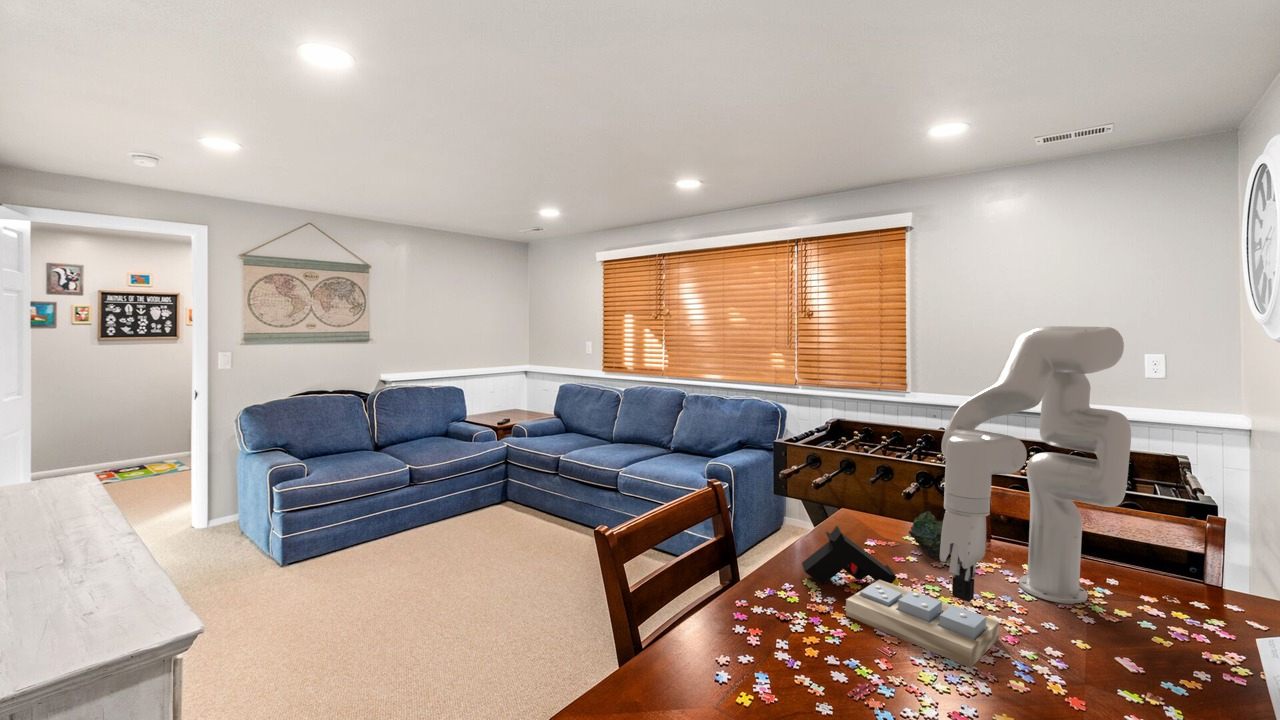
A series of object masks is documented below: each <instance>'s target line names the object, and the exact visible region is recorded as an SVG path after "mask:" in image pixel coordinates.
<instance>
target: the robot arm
mask: <svg viewBox="0 0 1280 720" xmlns="http://www.w3.org/2000/svg"><path fill="white" fill-rule="evenodd" d="M1124 348H1125V341H1124V338H1123V336H1122V333H1120V332H1119V330H1117V329H1116V328H1114V327H1111V326H1068V325H1066V326H1063V325H1060V326H1056V325H1055V326H1054V325H1052V326H1050V325H1049V326H1041V327H1036V328H1034V329H1031V330H1030V331H1027V332H1024V333H1022V334H1020V335H1019V336H1017V338H1016V339H1015V341H1014V342H1013V345H1012V346H1011V348H1010V351H1009V352H1008V355H1007V356H1006V359H1005V360H1004V361H1005V362H1004V363H1003V366H1002V367H1001V369H1000V370H999V374H998V375H997V378H996V379H995V382H994V384H993V385H991V386H990V387H987V388H985V389H984V390H981V391H980V392H978V393H976V394H975V395H973V396H972V397H970V398H968V399H967V400H966V401H965V402H964V403H962V404H961V405H960V406H959V407H958V408H957V409H956V410H955V411H954V413H953V415H952V416H951V418H950V420H949V423H948V425H947V427H946V429H945V431H944V433H943V435H942V439H941V454H942V456H943V457H944V458H945V469H944V471H945V472H944V491H943V492H944V493H943V495H944V496H943V499H944V500H943V508H944V510H945V513H944V516H943V520H942V521H943V526H942V534H941V545H940V560H939V561H940V562H941V563H946V562H948V561H949V560H950V563H949V569H948V573H949V574H951V575H952V576H951V577H952V585H951V586H952V587H951V588H952V590H951V591H952V592H951V594H952V595H951V596H952V597H953V598H956V599H959V600H962V601H965V602H968V603H969V602H971V601H972V600H974V599H975V597H974V594H975V575H976V570H977V569H976V568H977V563H978V562H980V561H981V560H982V559H984V557H985V555H986V549H987V547H986V546H987V516H990V515H991V497H992V496H991V495H992V494H991V493H992V475H1005V476H1006V475H1012V474H1015V473H1016V472H1018V471H1020V470H1021V469H1022V468H1023V467H1024V465H1025V463H1026V461H1027V456H1028V453H1027V448H1026V446H1025V444H1024V443H1023V442H1022V441H1021V440H1020V439H1019V438H1017V437H1015V436H1012V435H1008V434H1004V433H999V432H998V433H997V432H991V431H986V430H980V429H976V428H978V427H979V426H980V425H981V424H983V423H984V422H987V421H990V420H992V419H995V418H997V417H1001V416H1007V415H1010V414H1015V413H1020V412H1022V411H1023V412H1024V411H1027V410H1030V409H1033V408H1035V407H1037V406H1038V405H1040V403H1041V406H1040V407H1041V408H1040V416H1039V417H1040V419H1039V436H1040V438H1041V440H1042V441H1043V443H1045V444H1046V445H1050V446H1053V447H1056V448H1062V449H1069V450H1074V451H1080V452H1086V453H1093V454H1095V455H1096V458H1097V459H1094V458H1088V457H1082V456H1077V455H1071V454H1065V453H1059V452H1051V451H1050V452H1047V451H1045V452H1039V453H1036V454H1034V455H1033V456H1031V457H1030V459H1029V460H1028V462H1027V463H1026V464H1027V466H1026V477H1027V478H1026V479H1027V484H1028V489H1029V490H1028V491H1029V499H1030V505H1029V506H1030V507H1029V512H1030V513H1029V530H1028V552H1027V553H1028V556H1027V557H1028V558H1027V574H1025V575H1022V576H1021V577H1019V579H1018V584H1019V587H1020V588H1021V589H1022V590H1023V591H1025V592H1026V593H1028V594H1029V595H1032V596H1034V597H1036V598H1039V599H1042V600H1045V601H1049V602H1053V603H1058V604H1065V605H1075V604H1074V603H1080V604H1082V603H1081V602H1083V603H1085V602H1087V601H1088V599H1087V598H1088V596H1089V595H1088V592H1087V591H1086V590H1085V589H1084V588H1083V587H1082V586H1080V577H1081V576H1080V575H1081V557H1082V556H1081V554H1082V538H1083V537H1082V536H1083V518H1082V516H1081V513H1080V511H1079V508H1077V505H1076V504H1075V503H1074V502H1080V503H1085V504H1089V505H1093V506H1094V505H1095V506H1098V507H1105V508H1114V507H1118V506H1119V505H1120V504H1121V503H1122V502H1123V501H1124V498H1125V496H1126V491H1127V485H1128V476H1129V475H1128V474H1129V466H1130V465H1129V464H1130V455H1131V445H1132V429H1131V425H1130V422H1129V420H1128V418H1127V417H1126V416H1125V415H1124V414H1122V413H1121V412H1120V411H1116V410H1112V409H1103V408H1094V407H1093V408H1092V407H1091V406H1090V399H1091V398H1090V397H1091V383H1090V381H1089V378H1088V377H1087V376H1086V375H1087V374H1088V375H1089V374H1094V373H1098V372H1101V371H1104V370H1107V369H1110V368H1112V367H1114V366H1115V365H1116V364H1117V363H1118V362H1119V361H1120V360H1121V358H1122V356H1123V353H1124V350H1125V349H1124ZM1086 600H1087V601H1086Z"/></svg>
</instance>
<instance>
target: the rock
mask: <svg viewBox="0 0 1280 720" xmlns="http://www.w3.org/2000/svg"><path fill="white" fill-rule="evenodd" d="M942 526H943V520H937V518H936V516H935V515H934V514H933V513H932V512H931V511H928V510H927V511H925V512H922V513H920V514H919V515H918V516H917V517H915V518H914V520H913V523H912V526H910V530H909V531H908V534H909V535H910V537H911V538H914V542H915V543H916V544H918V546H919V548H920V549H921V550H923V551H925V552H926V554H927V555H928V556H930V557H931V558H934V559H937V560H939V561H940V545H941V534H942Z"/></svg>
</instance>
